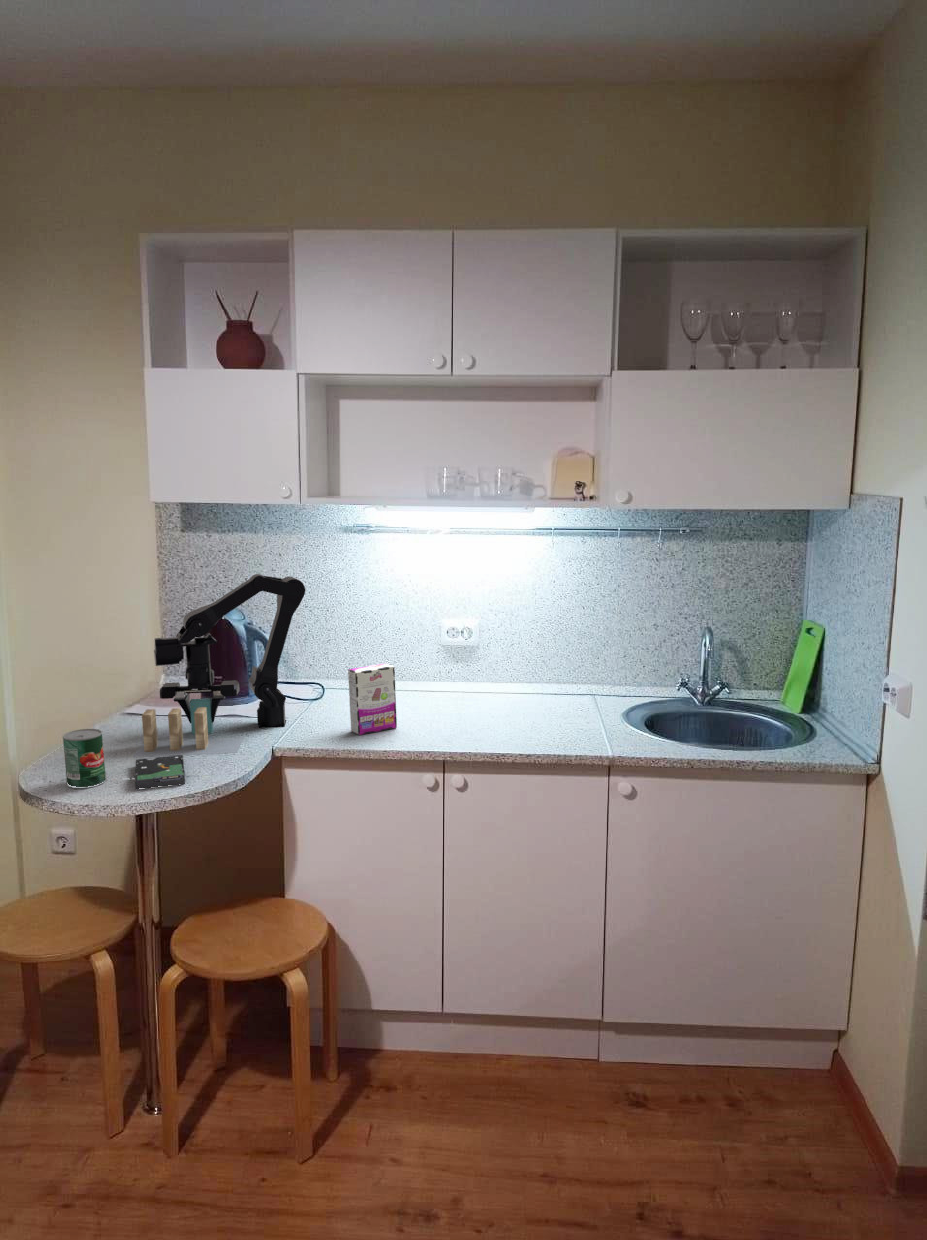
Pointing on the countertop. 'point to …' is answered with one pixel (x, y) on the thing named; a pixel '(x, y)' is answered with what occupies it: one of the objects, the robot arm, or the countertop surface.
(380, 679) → the candy bar box
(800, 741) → the countertop surface
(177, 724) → the maple tile
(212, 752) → the slate mat
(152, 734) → the maple tile
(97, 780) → the canned tomato
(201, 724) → the maple tile
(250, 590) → the robot arm
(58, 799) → the countertop surface
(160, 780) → the disk drive
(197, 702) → the teal tile
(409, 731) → the countertop surface
